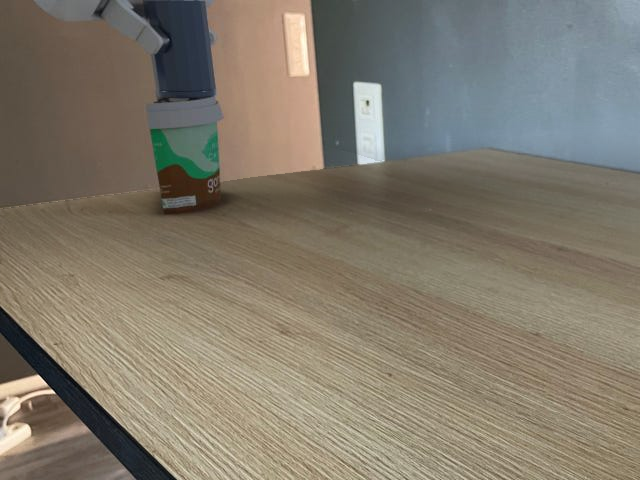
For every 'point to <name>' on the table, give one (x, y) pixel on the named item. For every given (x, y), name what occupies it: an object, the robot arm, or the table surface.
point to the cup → (182, 49)
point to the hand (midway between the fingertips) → (186, 47)
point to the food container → (186, 152)
